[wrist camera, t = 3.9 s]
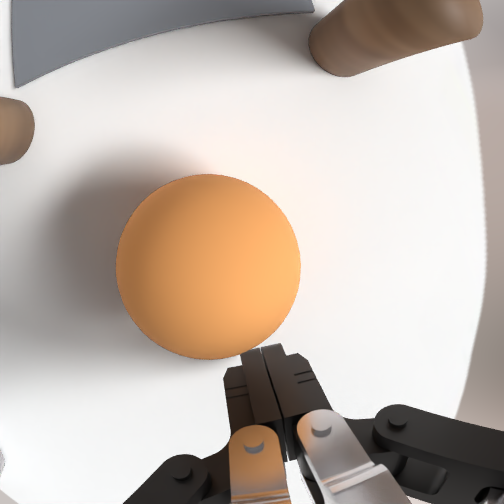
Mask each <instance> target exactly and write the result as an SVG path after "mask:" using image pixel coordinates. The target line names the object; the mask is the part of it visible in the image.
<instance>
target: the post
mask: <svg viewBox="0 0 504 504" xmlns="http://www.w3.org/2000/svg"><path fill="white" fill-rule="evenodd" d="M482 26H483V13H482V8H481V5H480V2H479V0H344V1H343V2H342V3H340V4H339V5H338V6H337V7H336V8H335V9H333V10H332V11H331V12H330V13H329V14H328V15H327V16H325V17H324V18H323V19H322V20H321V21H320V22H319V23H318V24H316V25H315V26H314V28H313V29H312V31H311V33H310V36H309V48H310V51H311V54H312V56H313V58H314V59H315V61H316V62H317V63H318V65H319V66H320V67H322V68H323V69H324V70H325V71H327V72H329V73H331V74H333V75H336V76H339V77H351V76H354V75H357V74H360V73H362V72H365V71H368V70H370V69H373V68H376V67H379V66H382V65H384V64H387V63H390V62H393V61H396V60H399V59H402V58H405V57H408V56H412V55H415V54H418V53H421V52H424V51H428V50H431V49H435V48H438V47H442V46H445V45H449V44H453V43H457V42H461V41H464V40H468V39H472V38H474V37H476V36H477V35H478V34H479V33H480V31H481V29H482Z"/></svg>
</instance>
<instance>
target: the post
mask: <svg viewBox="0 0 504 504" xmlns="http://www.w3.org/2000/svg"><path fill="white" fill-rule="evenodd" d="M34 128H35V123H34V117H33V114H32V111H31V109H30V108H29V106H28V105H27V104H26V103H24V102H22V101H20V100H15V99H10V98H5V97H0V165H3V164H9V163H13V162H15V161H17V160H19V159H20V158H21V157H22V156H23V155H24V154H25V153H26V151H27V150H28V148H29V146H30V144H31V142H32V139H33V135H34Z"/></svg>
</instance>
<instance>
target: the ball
mask: <svg viewBox="0 0 504 504" xmlns="http://www.w3.org/2000/svg"><path fill="white" fill-rule="evenodd" d="M300 268H301V262H300V252H299V248H298V244H297V240H296V237H295V234H294V232H293V229H292V227H291V225H290V223H289V221H288V220H287V218H286V216H285V215H284V213H283V212H282V211H281V210H280V208H279V207H278V206H277V205H276V204H275V203H274V202H273V201H272V200H271V199H270V198H269V197H268V196H267V195H266V194H264V193H263V192H262V191H260V190H259V189H258V188H256V187H254V186H252V185H250V184H249V183H247V182H244V181H241V180H239V179H236V178H232V177H228V176H223V175H214V174H201V175H193V176H188V177H184V178H181V179H178V180H175V181H172V182H170V183H168V184H166V185H164V186H162V187H160V188H159V189H157V190H156V191H154V192H153V193H151V194H150V195H149V196H148V197H147V198H146V199H145V200H143V201H142V202H141V203H140V205H139V206H138V207H137V208H136V210H135V211H134V212H133V214H132V215H131V217H130V218H129V220H128V222H127V224H126V225H125V228H124V230H123V232H122V235H121V237H120V241H119V245H118V249H117V257H116V278H117V284H118V288H119V292H120V295H121V298H122V301H123V304H124V306H125V308H126V310H127V312H128V313H129V315H130V317H131V318H132V320H133V321H134V322H135V324H136V325H137V326H138V327H139V328H140V330H141V331H142V332H143V333H144V334H145V335H146V336H147V337H149V338H150V339H151V340H152V341H154V342H155V343H156V344H158V345H159V346H161V347H163V348H165V349H167V350H169V351H171V352H173V353H176V354H179V355H181V356H185V357H189V358H194V359H204V360H213V359H223V358H228V357H232V356H236V355H239V354H242V353H244V352H246V351H248V350H250V349H252V348H254V347H256V346H257V345H259V344H260V343H262V342H263V341H264V340H266V339H267V338H268V337H269V336H270V335H272V334H273V333H274V332H275V331H276V330H277V328H278V327H279V326H280V325H281V324H282V322H283V321H284V319H285V318H286V316H287V315H288V313H289V311H290V309H291V307H292V305H293V303H294V300H295V297H296V294H297V291H298V287H299V281H300Z"/></svg>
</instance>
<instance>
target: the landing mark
mask: <svg viewBox="0 0 504 504" xmlns="http://www.w3.org/2000/svg"><path fill="white" fill-rule="evenodd" d="M314 11H315V10H314V6H313V3H312V0H12V47H13V64H14V76H15V86H16V88H19V87H21V86H23V85H25V84H27V83H29V82H31V81H33V80H35V79H37V78H39V77H41V76H43V75H45V74H47V73H49V72H52V71H54V70H56V69H58V68H61V67H63V66H65V65H68V64H70V63H72V62H75V61H77V60H80V59H82V58H85V57H87V56H90V55H93V54H95V53H98V52H101V51H104V50H107V49H110V48H113V47H116V46H119V45H122V44H125V43H128V42H131V41H135V40H138V39H141V38H145V37H149V36H152V35H156V34H160V33H164V32H168V31H172V30H176V29H181V28H186V27H190V26H195V25H200V24H206V23H211V22H217V21H223V20H230V19H237V18H245V17H254V16H264V15H275V14H291V13H313V12H314Z"/></svg>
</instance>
